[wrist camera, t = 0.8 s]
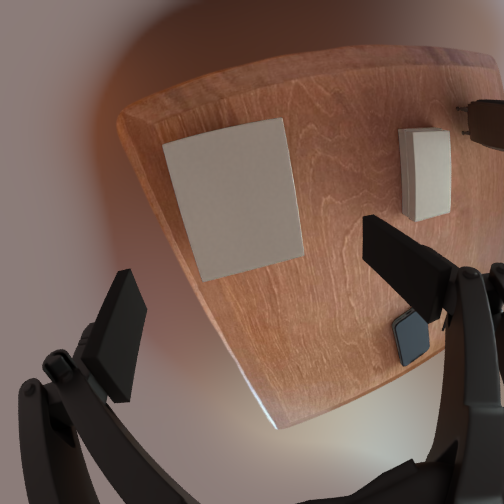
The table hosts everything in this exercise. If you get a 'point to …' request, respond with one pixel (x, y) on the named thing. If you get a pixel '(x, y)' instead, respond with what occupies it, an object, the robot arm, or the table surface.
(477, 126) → the alarm clock
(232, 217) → the light grey rectangular slab
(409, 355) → the smartphone
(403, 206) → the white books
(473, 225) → the table surface
